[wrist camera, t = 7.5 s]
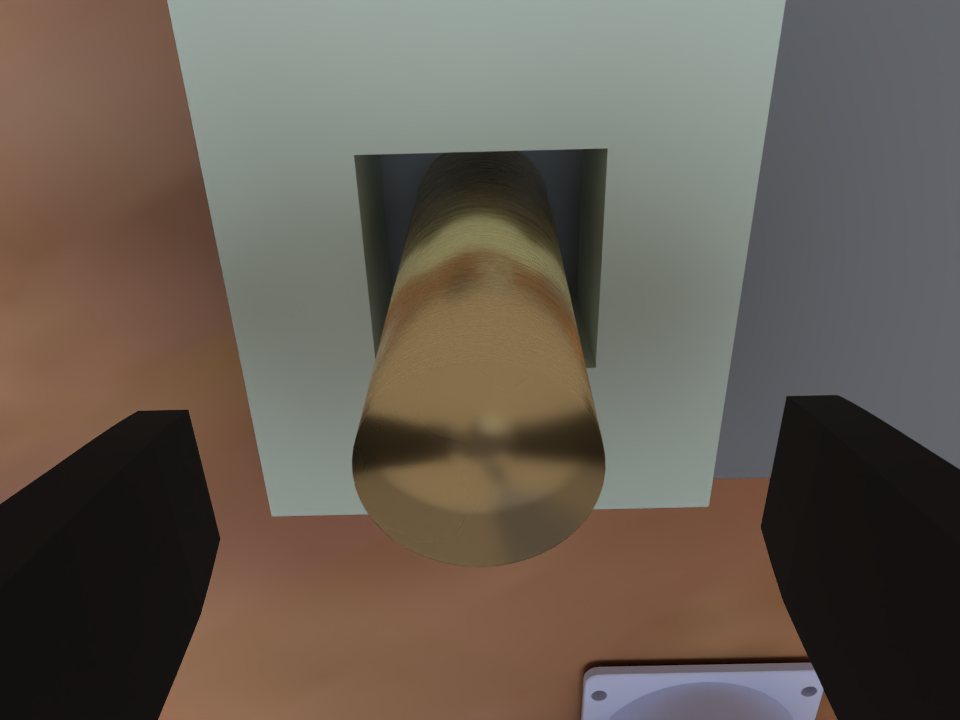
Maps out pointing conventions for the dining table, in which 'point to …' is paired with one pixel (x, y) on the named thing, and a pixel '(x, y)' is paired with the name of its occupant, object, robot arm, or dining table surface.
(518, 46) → the hole block
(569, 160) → the rubber mat
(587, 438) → the brass peg
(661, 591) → the dining table surface
